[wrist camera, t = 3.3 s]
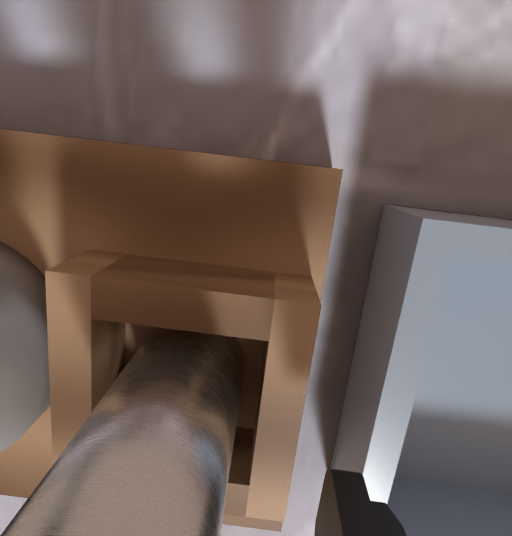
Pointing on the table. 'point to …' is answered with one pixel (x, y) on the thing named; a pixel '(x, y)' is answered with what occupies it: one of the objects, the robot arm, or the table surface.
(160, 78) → the table surface
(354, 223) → the table surface
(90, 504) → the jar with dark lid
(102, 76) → the table surface
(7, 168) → the block
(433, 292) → the tray
